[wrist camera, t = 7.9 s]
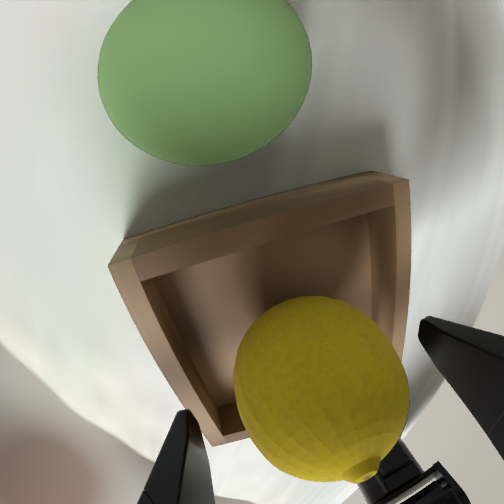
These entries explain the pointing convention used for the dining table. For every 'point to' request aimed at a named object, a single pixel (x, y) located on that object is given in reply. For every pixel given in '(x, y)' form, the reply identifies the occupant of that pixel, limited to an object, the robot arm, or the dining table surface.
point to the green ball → (204, 76)
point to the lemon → (320, 390)
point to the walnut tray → (263, 279)
